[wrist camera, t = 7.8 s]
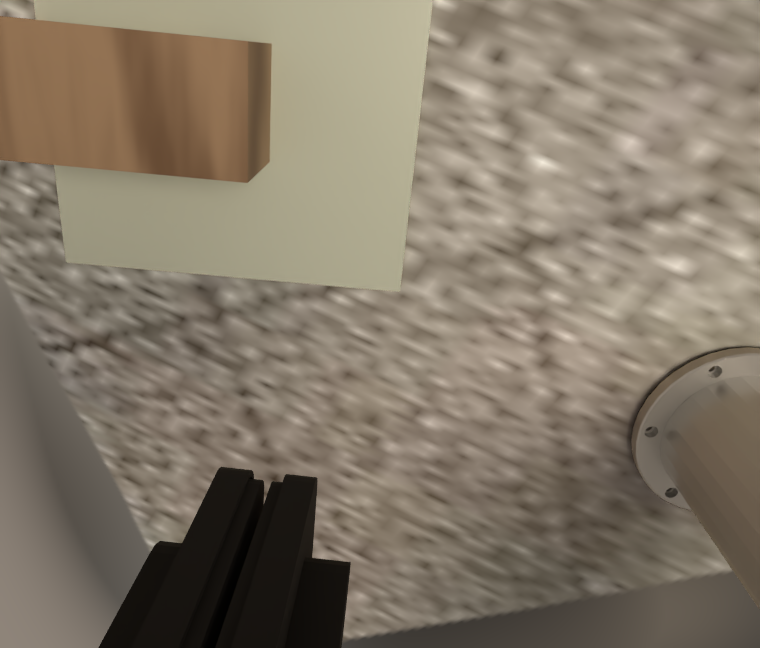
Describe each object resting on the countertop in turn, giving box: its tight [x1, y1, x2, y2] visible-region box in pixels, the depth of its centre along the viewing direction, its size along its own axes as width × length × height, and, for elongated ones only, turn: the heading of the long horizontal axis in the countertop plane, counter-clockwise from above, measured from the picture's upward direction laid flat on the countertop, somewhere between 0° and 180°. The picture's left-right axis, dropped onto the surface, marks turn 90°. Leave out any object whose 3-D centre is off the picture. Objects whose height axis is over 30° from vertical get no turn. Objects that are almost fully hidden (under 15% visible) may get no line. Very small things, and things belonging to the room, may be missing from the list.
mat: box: [34, 0, 433, 292], centre depth 33 cm, size 20×20×1 cm
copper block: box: [0, 16, 272, 183], centre depth 30 cm, size 6×6×12 cm
